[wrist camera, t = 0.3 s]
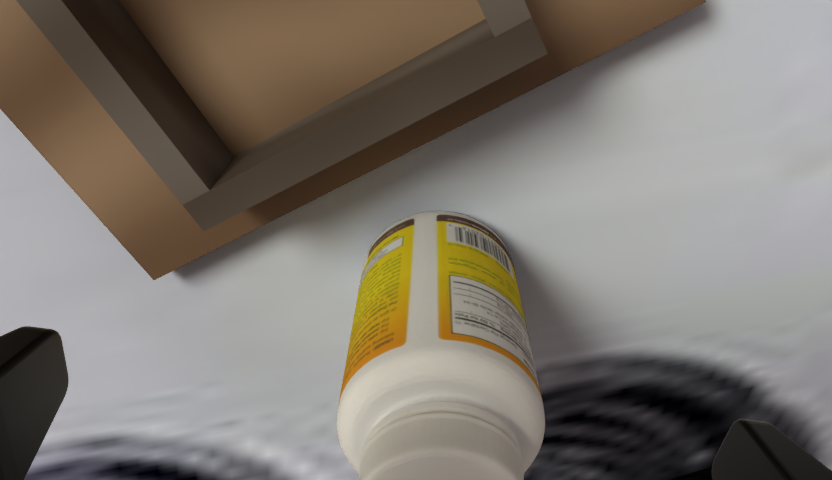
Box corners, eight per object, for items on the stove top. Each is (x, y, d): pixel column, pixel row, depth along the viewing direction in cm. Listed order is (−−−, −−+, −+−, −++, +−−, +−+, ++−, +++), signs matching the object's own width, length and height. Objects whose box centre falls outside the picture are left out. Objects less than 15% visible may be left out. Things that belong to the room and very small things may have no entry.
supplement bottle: (372, 332, 25) (337, 584, 16) (355, 207, 22) (301, 429, 13) (513, 326, 25) (558, 580, 16) (514, 199, 22) (568, 420, 13)
